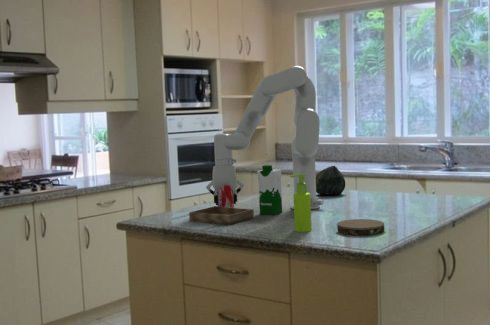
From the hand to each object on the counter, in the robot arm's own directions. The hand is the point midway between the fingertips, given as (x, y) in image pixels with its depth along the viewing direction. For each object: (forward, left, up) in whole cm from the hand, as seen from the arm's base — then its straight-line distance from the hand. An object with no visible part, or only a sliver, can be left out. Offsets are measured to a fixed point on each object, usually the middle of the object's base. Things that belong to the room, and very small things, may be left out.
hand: (225, 204), depth 264 cm
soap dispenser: (-50, +19, -4) cm, 54 cm away
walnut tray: (-10, +15, -3) cm, 18 cm away
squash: (-17, -59, -4) cm, 62 cm away
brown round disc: (-69, +11, -4) cm, 70 cm away
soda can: (0, 0, -4) cm, 4 cm away
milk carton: (-20, -5, -4) cm, 21 cm away
